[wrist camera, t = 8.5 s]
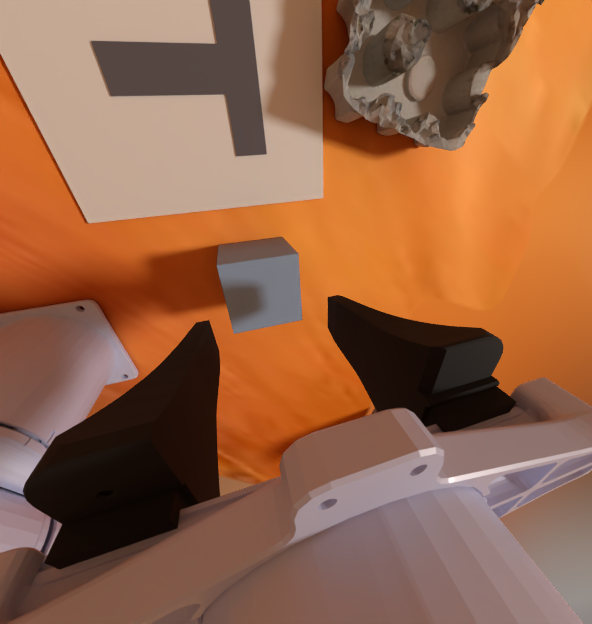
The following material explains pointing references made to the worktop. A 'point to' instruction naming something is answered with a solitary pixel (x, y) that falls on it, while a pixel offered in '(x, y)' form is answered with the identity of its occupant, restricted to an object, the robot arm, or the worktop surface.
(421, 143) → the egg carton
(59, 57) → the letter mat
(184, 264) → the worktop surface
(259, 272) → the cube
